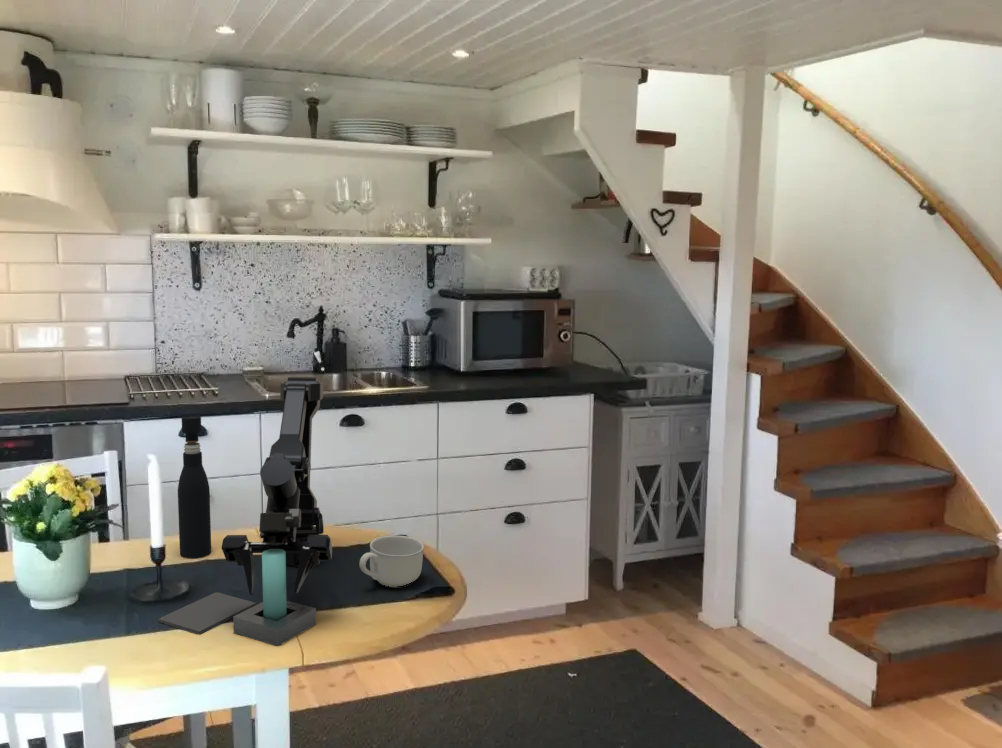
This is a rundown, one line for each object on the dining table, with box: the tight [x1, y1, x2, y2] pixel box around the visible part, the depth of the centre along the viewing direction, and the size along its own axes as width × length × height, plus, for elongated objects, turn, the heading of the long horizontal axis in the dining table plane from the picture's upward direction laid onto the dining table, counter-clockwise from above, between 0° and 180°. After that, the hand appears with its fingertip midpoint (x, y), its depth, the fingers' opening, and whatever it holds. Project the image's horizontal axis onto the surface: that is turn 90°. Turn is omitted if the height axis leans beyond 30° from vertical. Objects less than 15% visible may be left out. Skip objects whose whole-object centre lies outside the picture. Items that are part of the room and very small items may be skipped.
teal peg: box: [261, 549, 287, 621], centre depth 160 cm, size 4×4×14 cm
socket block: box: [232, 599, 317, 647], centre depth 161 cm, size 10×10×3 cm
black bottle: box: [177, 414, 212, 560], centre depth 194 cm, size 6×6×30 cm
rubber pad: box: [157, 591, 257, 635], centre depth 167 cm, size 14×10×1 cm
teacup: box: [358, 535, 425, 588], centre depth 182 cm, size 14×11×8 cm
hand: (273, 593), depth 159 cm, fingers open, 7 cm apart
